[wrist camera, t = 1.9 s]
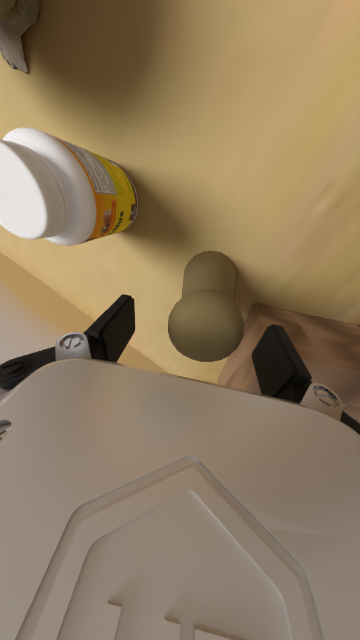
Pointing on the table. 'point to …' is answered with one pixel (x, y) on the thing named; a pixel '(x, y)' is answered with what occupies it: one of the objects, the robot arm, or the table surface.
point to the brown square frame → (303, 353)
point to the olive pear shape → (207, 310)
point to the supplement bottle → (61, 190)
